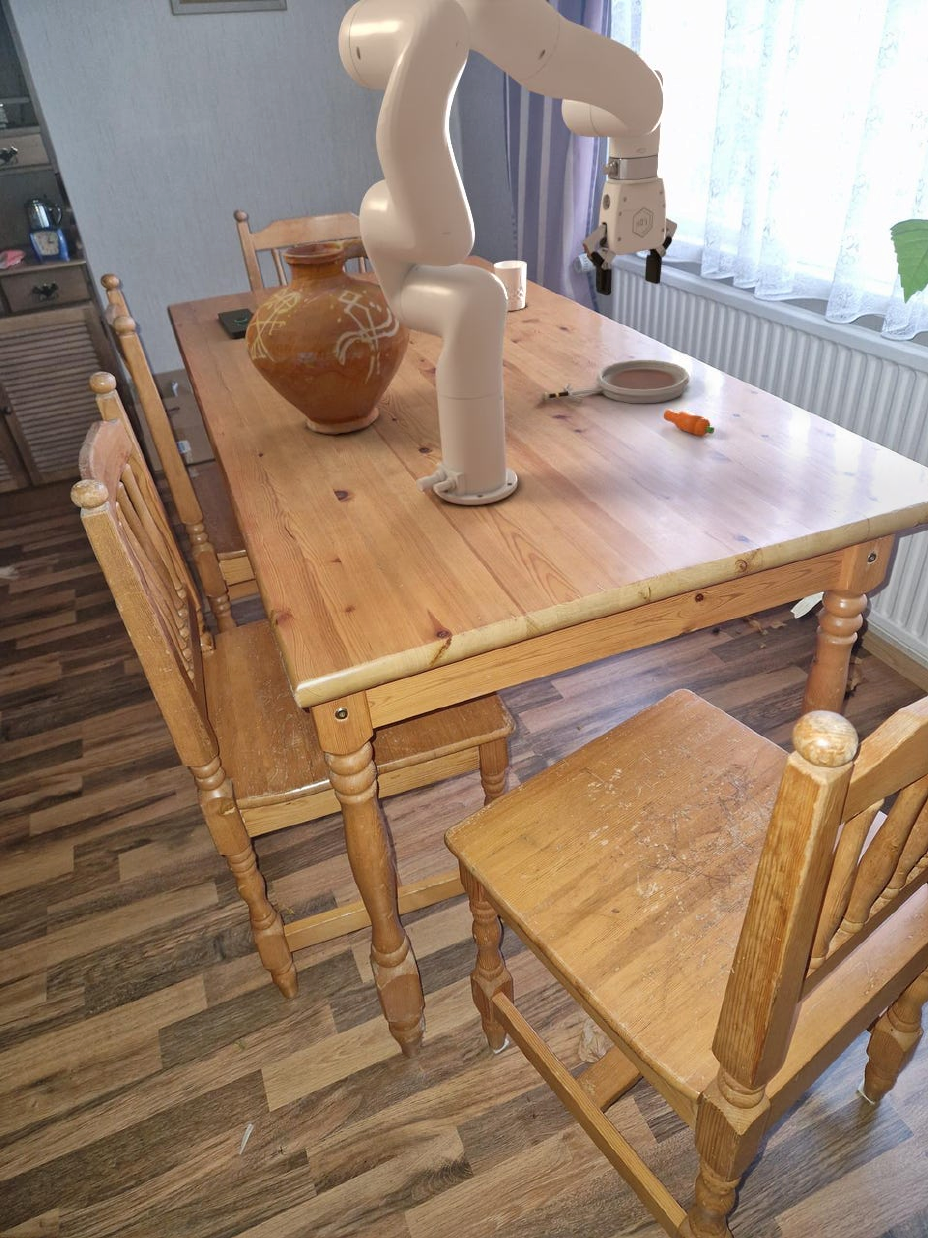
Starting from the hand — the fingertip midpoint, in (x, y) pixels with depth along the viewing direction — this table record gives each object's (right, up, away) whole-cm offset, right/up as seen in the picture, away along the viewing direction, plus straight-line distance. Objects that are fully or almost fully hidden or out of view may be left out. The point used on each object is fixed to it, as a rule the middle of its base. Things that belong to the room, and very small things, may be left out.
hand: (628, 287), depth 132 cm
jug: (-49, -18, +17) cm, 55 cm away
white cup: (-15, +23, +69) cm, 75 cm away
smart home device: (-83, +19, +72) cm, 111 cm away
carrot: (+10, -22, +3) cm, 25 cm away
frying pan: (+1, -12, +19) cm, 23 cm away
